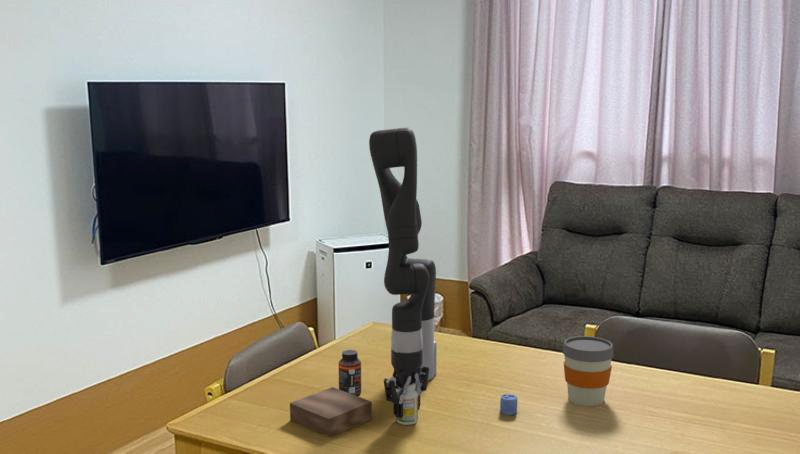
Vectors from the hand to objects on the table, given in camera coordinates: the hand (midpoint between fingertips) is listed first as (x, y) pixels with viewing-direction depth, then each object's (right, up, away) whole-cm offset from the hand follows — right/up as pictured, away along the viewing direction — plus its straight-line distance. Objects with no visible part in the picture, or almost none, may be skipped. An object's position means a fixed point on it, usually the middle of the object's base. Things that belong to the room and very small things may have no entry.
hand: (407, 413), depth 201 cm
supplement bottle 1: (-15, +1, +18) cm, 23 cm away
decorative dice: (+25, -1, +6) cm, 26 cm away
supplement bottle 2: (0, -2, 0) cm, 2 cm away
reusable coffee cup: (+46, 0, +13) cm, 48 cm away
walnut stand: (-18, -2, +1) cm, 19 cm away
